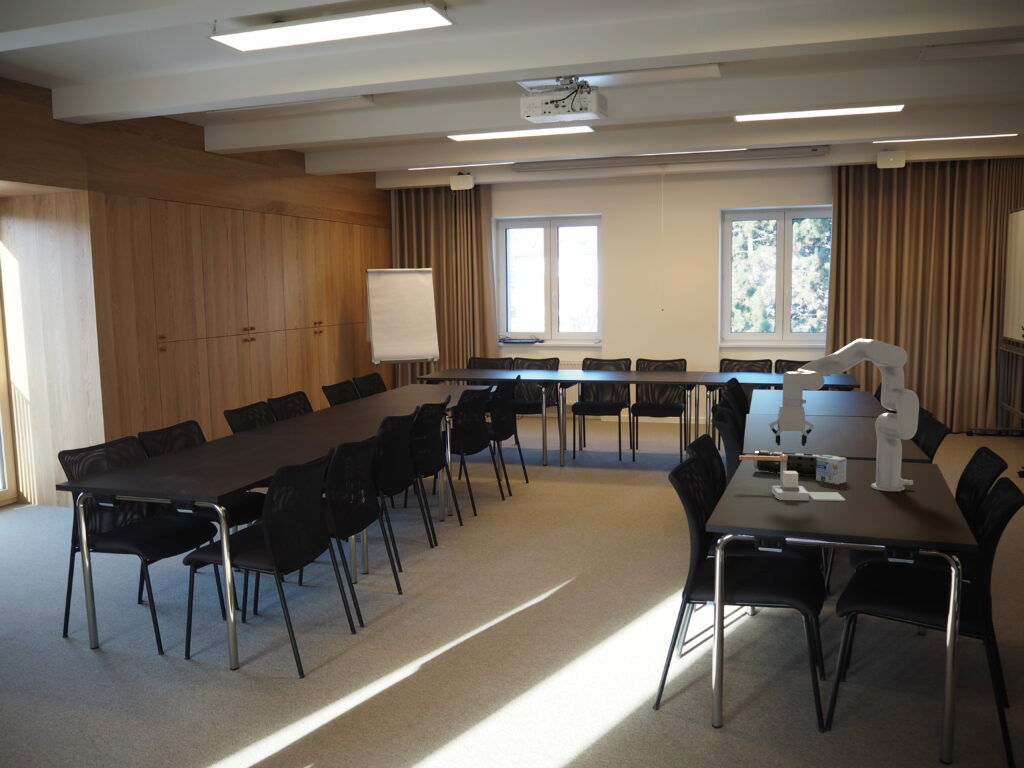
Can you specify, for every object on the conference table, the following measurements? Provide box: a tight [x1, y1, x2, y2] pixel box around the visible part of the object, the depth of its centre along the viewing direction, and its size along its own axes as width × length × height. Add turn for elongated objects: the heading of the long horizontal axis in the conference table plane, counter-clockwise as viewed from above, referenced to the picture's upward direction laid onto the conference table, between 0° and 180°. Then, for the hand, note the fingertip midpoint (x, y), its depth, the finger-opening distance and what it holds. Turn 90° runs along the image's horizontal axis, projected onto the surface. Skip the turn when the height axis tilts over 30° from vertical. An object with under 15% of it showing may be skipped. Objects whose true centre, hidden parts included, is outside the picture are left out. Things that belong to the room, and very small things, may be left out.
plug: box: [781, 471, 799, 491], centre depth 342 cm, size 6×6×10 cm
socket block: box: [771, 461, 810, 501], centre depth 347 cm, size 12×22×12 cm, turn 173°
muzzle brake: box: [753, 449, 821, 477], centre depth 383 cm, size 10×28×10 cm, turn 63°
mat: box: [807, 491, 846, 502], centre depth 341 cm, size 12×12×1 cm
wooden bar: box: [738, 455, 788, 461], centre depth 356 cm, size 20×3×2 cm, turn 81°
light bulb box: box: [815, 454, 847, 485], centre depth 368 cm, size 11×7×11 cm, turn 40°
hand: (790, 445), depth 340 cm, fingers open, 9 cm apart
